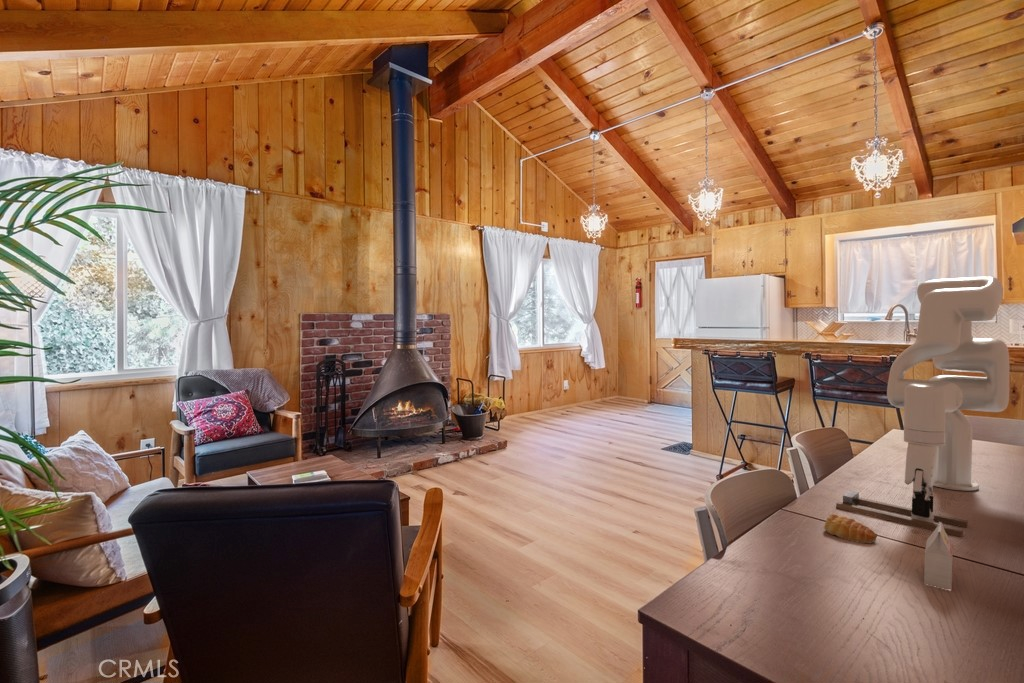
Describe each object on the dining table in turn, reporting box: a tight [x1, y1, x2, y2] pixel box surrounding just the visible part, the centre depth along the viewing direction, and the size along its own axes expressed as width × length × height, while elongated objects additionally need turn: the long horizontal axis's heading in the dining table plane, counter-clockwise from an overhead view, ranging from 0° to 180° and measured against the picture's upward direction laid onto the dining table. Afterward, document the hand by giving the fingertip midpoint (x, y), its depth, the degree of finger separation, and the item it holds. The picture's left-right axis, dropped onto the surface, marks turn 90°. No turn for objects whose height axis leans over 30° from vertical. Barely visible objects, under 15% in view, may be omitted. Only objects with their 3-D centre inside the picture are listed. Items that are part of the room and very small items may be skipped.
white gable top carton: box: [923, 521, 954, 590], centre depth 92 cm, size 4×7×10 cm, turn 138°
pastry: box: [823, 513, 878, 544], centre depth 111 cm, size 9×7×4 cm
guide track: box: [835, 497, 969, 538], centre depth 122 cm, size 9×24×1 cm, turn 41°
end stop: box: [842, 490, 860, 506], centre depth 129 cm, size 6×2×3 cm, turn 132°
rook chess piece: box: [909, 489, 936, 523], centre depth 119 cm, size 4×4×8 cm
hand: (922, 512), depth 119 cm, fingers closed on rook chess piece, 3 cm apart
